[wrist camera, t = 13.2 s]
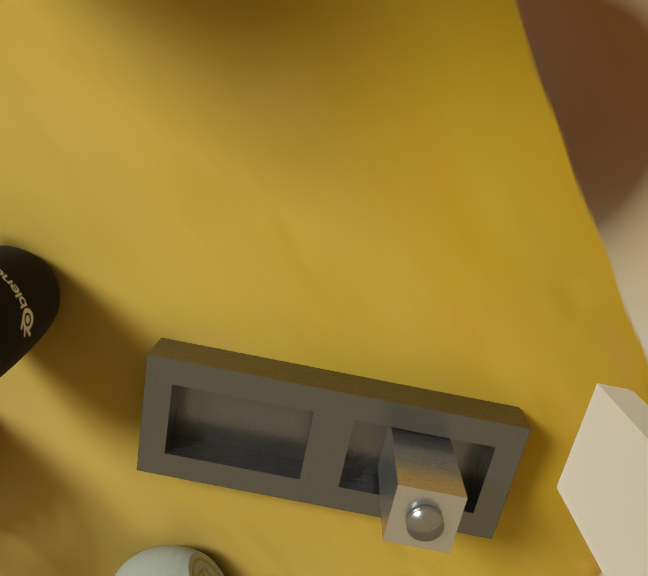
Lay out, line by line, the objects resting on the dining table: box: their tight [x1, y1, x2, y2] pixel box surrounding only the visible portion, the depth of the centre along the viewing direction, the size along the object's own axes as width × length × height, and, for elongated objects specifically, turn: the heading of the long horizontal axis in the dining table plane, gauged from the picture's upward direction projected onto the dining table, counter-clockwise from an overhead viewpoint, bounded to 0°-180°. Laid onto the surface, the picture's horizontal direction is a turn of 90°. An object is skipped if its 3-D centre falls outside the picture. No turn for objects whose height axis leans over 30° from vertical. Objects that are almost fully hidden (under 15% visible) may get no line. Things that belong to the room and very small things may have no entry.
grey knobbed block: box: [378, 426, 467, 553], centre depth 38 cm, size 4×4×9 cm
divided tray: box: [137, 338, 531, 539], centre depth 41 cm, size 10×28×3 cm, turn 79°
